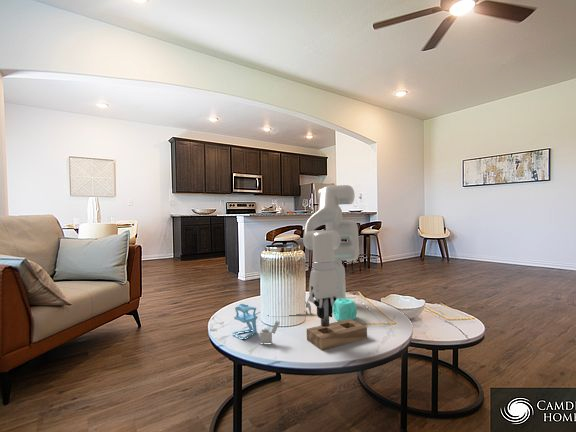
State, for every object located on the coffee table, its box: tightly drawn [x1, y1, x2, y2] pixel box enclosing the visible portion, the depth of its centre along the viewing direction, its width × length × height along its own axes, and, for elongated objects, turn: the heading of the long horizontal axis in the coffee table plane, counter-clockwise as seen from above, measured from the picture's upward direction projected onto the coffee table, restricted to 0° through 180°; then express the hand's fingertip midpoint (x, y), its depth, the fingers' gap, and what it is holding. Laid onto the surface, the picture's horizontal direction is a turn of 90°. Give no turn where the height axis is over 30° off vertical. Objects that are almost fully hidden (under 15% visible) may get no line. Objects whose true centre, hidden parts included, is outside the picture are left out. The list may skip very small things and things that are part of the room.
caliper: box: [304, 299, 312, 315], centre depth 139 cm, size 20×1×6 cm, turn 93°
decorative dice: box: [332, 298, 358, 322], centre depth 131 cm, size 8×8×8 cm
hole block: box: [306, 319, 368, 351], centre depth 111 cm, size 10×20×4 cm, turn 117°
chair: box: [231, 303, 258, 339], centre depth 117 cm, size 8×8×12 cm
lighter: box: [259, 320, 280, 344], centre depth 108 cm, size 7×2×8 cm, turn 87°
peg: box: [320, 298, 330, 327], centre depth 108 cm, size 3×3×10 cm
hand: (324, 316), depth 108 cm, fingers closed on peg, 3 cm apart
